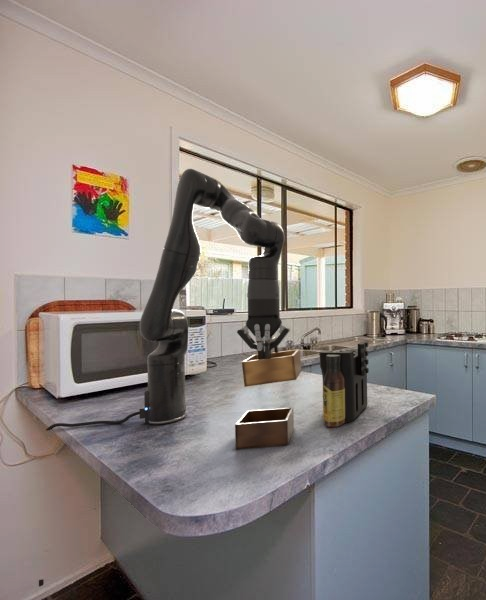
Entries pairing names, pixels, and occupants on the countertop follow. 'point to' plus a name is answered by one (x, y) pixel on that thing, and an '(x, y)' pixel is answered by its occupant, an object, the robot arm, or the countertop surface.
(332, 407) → the sauce bottle
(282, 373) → the box
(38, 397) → the countertop surface
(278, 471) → the countertop surface
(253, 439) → the bottom basket
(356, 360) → the black machined bracket
